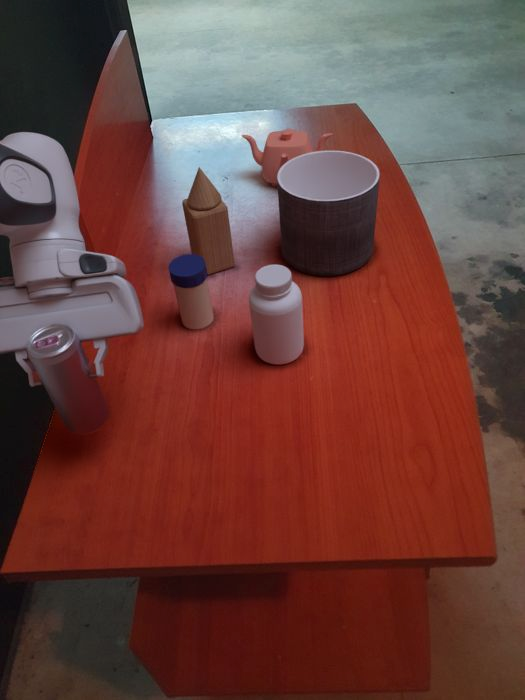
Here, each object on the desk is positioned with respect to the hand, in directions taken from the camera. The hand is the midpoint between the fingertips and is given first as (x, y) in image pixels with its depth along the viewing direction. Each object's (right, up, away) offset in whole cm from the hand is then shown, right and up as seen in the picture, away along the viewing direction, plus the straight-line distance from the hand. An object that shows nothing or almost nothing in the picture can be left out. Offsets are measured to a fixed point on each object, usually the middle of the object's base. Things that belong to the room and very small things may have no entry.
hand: (68, 381), depth 71 cm
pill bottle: (+27, +4, +22) cm, 35 cm away
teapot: (+30, +42, +59) cm, 79 cm away
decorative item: (+15, +20, +39) cm, 47 cm away
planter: (+37, +23, +40) cm, 59 cm away
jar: (+13, +9, +28) cm, 32 cm away
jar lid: (+12, +17, +20) cm, 29 cm away
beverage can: (+1, -6, +6) cm, 9 cm away
